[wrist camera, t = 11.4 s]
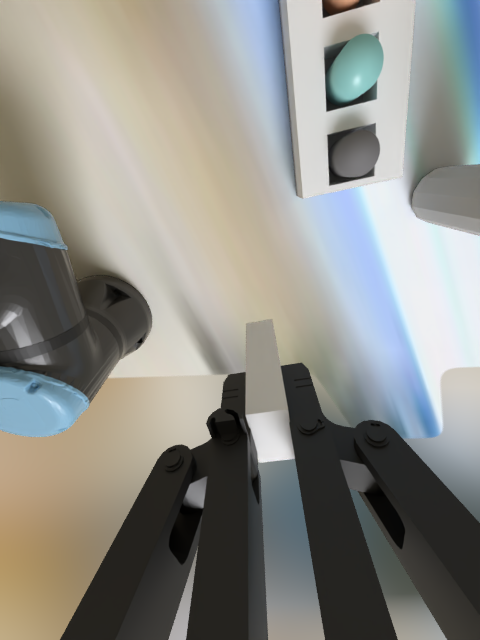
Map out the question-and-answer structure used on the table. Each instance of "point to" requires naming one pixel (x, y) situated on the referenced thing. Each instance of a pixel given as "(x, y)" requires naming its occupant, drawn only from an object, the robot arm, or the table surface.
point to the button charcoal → (354, 154)
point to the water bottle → (450, 198)
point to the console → (362, 113)
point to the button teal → (354, 69)
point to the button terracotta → (339, 6)
